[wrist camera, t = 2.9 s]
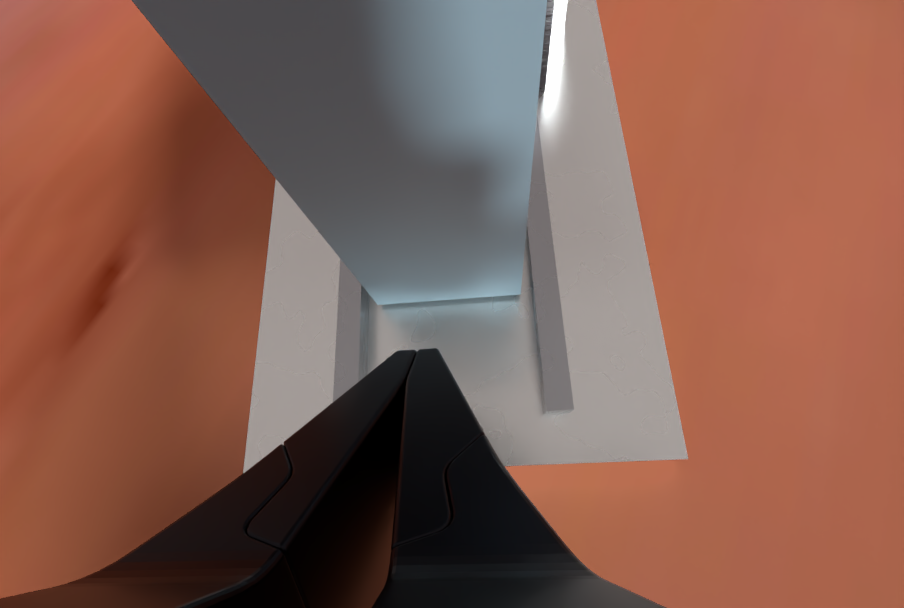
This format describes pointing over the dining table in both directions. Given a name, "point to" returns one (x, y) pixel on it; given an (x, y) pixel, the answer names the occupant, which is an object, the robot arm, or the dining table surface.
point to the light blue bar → (384, 125)
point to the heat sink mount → (500, 299)
